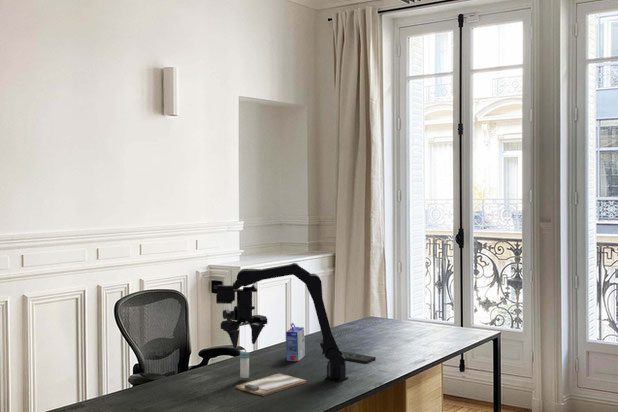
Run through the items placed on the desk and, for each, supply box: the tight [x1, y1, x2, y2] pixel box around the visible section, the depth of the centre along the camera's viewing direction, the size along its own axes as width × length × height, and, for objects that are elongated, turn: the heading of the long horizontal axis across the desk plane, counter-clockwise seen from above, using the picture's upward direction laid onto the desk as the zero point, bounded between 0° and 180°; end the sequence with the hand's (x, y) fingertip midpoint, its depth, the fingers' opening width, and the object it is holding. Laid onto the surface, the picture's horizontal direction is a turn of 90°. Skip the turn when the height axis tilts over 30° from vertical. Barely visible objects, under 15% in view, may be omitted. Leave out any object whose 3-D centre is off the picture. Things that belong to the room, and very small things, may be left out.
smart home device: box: [340, 350, 377, 365], centre depth 288 cm, size 8×2×20 cm
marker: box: [239, 351, 250, 382], centre depth 255 cm, size 3×3×10 cm
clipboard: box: [235, 373, 307, 397], centre depth 248 cm, size 14×22×2 cm, turn 138°
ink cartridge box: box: [285, 322, 306, 362], centre depth 287 cm, size 10×6×14 cm, turn 164°
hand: (244, 345), depth 254 cm, fingers open, 9 cm apart
